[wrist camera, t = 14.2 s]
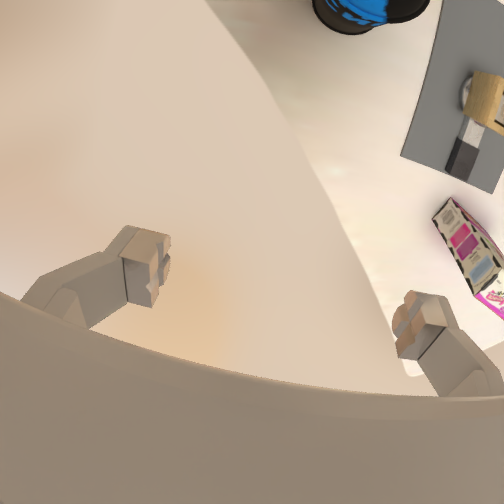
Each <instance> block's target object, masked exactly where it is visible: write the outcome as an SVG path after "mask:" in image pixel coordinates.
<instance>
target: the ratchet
mask: <svg viewBox="0 0 504 504" xmlns="http://www.w3.org/2000/svg"><path fill="white" fill-rule="evenodd" d="M473 75H474V74H473ZM473 75H470V76H468V77H467V78H465V79H464V81H463V82H462V84H461V86H460V89H459V104H460V107H461V110H462V112H463V109H464V106H465V103H466V100H467V96H468V93H469V90H470V86H471V82H472V79H473ZM494 121H497V122H499V123H501V124H503V125H504V95H502V98H501V101H500V104H499V108H498V111H497V114H496V117H495V120H494ZM485 128H488V127H486V126H485V125H483V124H481V123H479V122H477V121H476V120H474V119H472V118H470V117H468V116H466V115H465V118H464V121H463V124H462V127H461V130H460V133H459V136H458V137H457V138H456V140H455V143H454V146H453V149H452V151H451V154H450V156H449V159H448V162H447V164H446V167H445V169H444V170H445V171H446V172H447V173H448V174H450V175H452V176H454V177H457V178H459V179H461V180H463V181H466V182H467V180H468V178H469V176H470V173H471V171H472V169H473V166H474V164H475V161H476V159H477V156H478V154H479V151H480V150H479V149H478V146H479V143H480V140H481V138H482V135H483V132H484V129H485Z"/></svg>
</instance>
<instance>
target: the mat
mask: <svg viewBox="0 0 504 504" xmlns="http://www.w3.org/2000/svg"><path fill="white" fill-rule="evenodd" d="M474 71H480V72H484V73H488V74H492V75H497V76H500V77H502V78H503V79H504V5H503V4H501V3H500V2H499V1H497V0H443V3H442V9H441V14H440V19H439V23H438V28H437V32H436V37H435V41H434V45H433V49H432V53H431V57H430V61H429V65H428V69H427V72H426V76H425V80H424V83H423V87H422V90H421V94H420V97H419V100H418V104H417V107H416V110H415V113H414V116H413V119H412V123H411V126H410V129H409V132H408V135H407V137H406V140H405V143H404V146H403V149H402V152H401V155H400V156H401V157H404V158H407V159H409V160H412V161H415V162H417V163H420V164H423V165H425V166H428V167H430V168H433V169H435V170H438V171H440V172H443V173H445V174H448V173H447V172H446V171H445V170H444V169H445V167H446V164H447V162H448V159H449V156H450V154H451V151H452V149H453V146H454V143H455V140H456V138H457V137H458V136H459V133H460V130H461V127H462V124H463V121H464V118H465V115H464V114H463V113H462V110H461V107H460V104H459V89H460V86H461V84H462V82H463V81H464V79H465V78H467V77H468V76H470V75H473V74H474ZM478 149H479V150H480V151H479V154H478V156H477V159H476V161H475V164H474V166H473V169H472V171H471V173H470V176H469V178H468V180H467V182H466V181H464V182H466V183H468V184H470V185H473V186H475V187H477V188H479V189H481V190H483V191H486V192H488V193H490V194H493V192H494V189H495V187H496V185H497V183H498V180H499V178H500V176H501V173H502V171H503V169H504V137H503V136H502V135H500V134H498V133H497V132H495V131H493V130H491V129H490V128H485V129H484V132H483V135H482V138H481V140H480V143H479V146H478ZM448 175H450V174H448ZM450 176H452V175H450ZM452 177H454V176H452ZM455 178H457V177H455ZM457 179H459V178H457ZM459 180H461V179H459ZM462 181H463V180H462Z"/></svg>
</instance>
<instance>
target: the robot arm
mask: <svg viewBox="0 0 504 504" xmlns="http://www.w3.org/2000/svg"><path fill="white" fill-rule="evenodd" d="M170 246H171V245H170V236H169V235H167V234H162V233H159V232H155V231H150V230H146V229H141V228H138V227H134V226H129V225H127V226H125V227H124V228H123V229H122V230H121V231H120V232H119V234H118V235H117V236H116V237H115V238H114V240H113V241H112V242H111V243H110V245H109V246H108V247H107V248H106V249H105V251H104V252H97V253H94V254H92V255H90V256H87V257H85V258H82V259H80V260H78V261H75V262H73V263H70V264H68V265H66V266H63V267H61V268H59V269H56V270H54V271H52V272H49V273H47V274H45V275H43V276H40V277H39V278H38V279H37V281H36V282H35V283H34V284H33V285H32V287H31V288H30V289H29V290H28V292H27V293H26V294H25V295H24V297H23V298H22V299H21V300H20V301H19V300H16V299H14V298H12V297H10V296H8V295H6V294H4V293H2V292H0V504H504V382H503V379H502V376H501V373H500V371H499V369H498V368H497V367H496V366H495V365H494V364H493V362H492V361H491V360H490V359H489V358H488V357H487V356H486V355H485V354H484V352H483V351H482V350H481V349H480V348H479V347H478V346H477V345H476V344H475V343H474V341H473V340H472V339H471V338H470V337H469V336H468V335H467V334H466V333H465V332H464V331H463V330H460V329H459V326H458V324H457V321H456V319H455V316H454V314H453V311H452V309H451V306H450V304H449V302H448V299H447V298H446V297H445V296H439V295H432V294H427V293H422V292H418V291H413V290H410V291H409V292H408V293H407V294H406V296H405V297H404V302H405V303H404V304H403V305H401V306H399V307H398V308H397V310H396V312H395V313H394V316H393V320H392V330H393V333H394V335H395V336H396V337H397V338H398V339H397V341H396V342H395V345H396V349H397V354H398V358H402V359H409V360H416V361H417V362H418V364H419V365H420V367H421V368H422V370H423V372H424V373H425V375H426V376H427V378H428V379H429V381H430V383H431V384H432V386H433V387H434V389H435V390H436V392H437V394H438V395H439V397H433V396H407V395H391V394H378V393H366V392H356V391H347V390H338V389H330V388H323V387H316V386H309V385H302V384H296V383H290V382H284V381H278V380H272V379H267V378H262V377H257V376H252V375H247V374H242V373H238V372H232V371H228V370H224V369H220V368H216V367H211V366H207V365H203V364H199V363H195V362H191V361H187V360H184V359H180V358H176V357H173V356H169V355H166V354H162V353H159V352H155V351H152V350H149V349H145V348H142V347H139V346H136V345H133V344H130V343H126V342H123V341H120V340H117V339H114V338H112V337H108V336H106V335H103V334H100V333H97V332H94V331H92V330H89V329H90V328H91V327H93V326H94V325H96V324H97V323H99V322H100V321H102V320H103V319H105V318H106V317H108V316H109V315H111V314H112V313H114V312H115V311H116V310H118V309H120V308H121V307H122V306H124V305H126V304H127V302H130V303H134V304H137V305H141V306H145V307H150V308H152V307H153V305H154V302H155V301H156V299H157V297H158V295H159V287H160V286H162V285H164V282H165V281H166V279H167V275H168V272H169V267H170V256H169V255H168V253H167V252H168V250H169V248H170Z"/></svg>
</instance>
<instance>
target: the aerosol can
mask: <svg viewBox="0 0 504 504" xmlns="http://www.w3.org/2000/svg"><path fill="white" fill-rule="evenodd" d="M429 2H430V0H312V4H313V8H314V11H315V13H316V15H317V17H318V18H319V19H320V21H321V22H322V23H323V24H324V25H326V26H327V27H328V28H330V29H332V30H333V31H336V32H338V33H341V34H346V35H359V34H363V33H366V32H368V31H370V30H372V29H373V28H374V27H377V26H381V25H384V24H387V23H390V24H393V23H403V22H406V21H410V20H412V19H414V18H416V17H418V16H419V15H420V14H421V13H422V12H424V11H425V9H426V7H427V6H428V4H429Z"/></svg>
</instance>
